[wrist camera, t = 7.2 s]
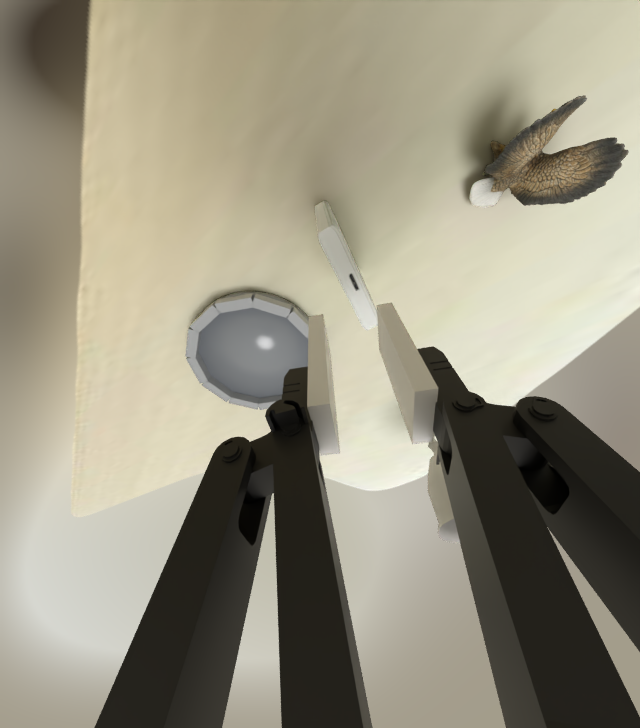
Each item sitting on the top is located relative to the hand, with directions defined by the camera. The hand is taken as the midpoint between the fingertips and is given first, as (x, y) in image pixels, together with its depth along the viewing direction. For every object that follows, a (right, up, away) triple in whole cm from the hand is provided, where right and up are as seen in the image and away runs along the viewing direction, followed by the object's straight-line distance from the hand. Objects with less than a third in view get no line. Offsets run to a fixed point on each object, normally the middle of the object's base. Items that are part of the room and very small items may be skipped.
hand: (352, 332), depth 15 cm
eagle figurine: (+15, +17, +11) cm, 25 cm away
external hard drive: (0, +11, +15) cm, 19 cm away
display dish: (-10, 0, +23) cm, 25 cm away
